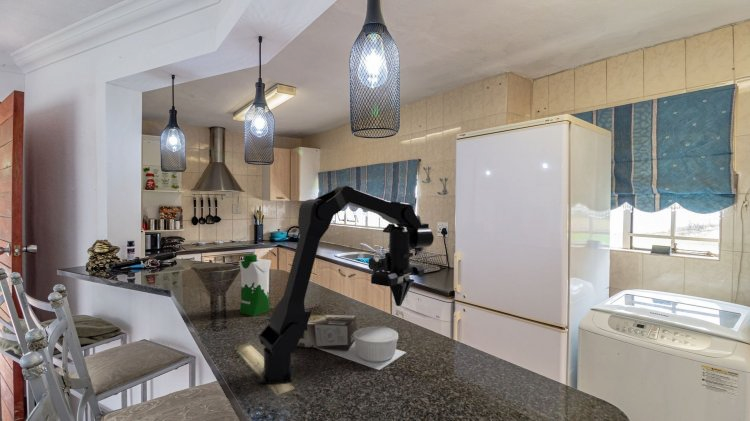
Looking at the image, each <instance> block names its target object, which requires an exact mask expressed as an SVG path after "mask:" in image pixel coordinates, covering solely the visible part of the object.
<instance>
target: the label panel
mask: <svg viewBox="0 0 750 421" xmlns="http://www.w3.org/2000/svg"><path fill="white" fill-rule="evenodd" d="M316 349H318V350H321V351H323V352H326V353H329V354H333V355H335V356H338V357H341V358H344V359H346V360H348V361H352V362H355V363H357V364H360V365H363V366H366V367H369V368H372V369H375V370H378V371H380V370H382V369H384V368H385V367H386V366H388V365H390V364H391V363H393V362H394V361H396V360H398V359H400V358H401V357H402V356H403V355H405V354H407V351H403V350H400V349H397V348H396V351H395V354H394V355H393V357H392V358H390V359H388V360H386V361H380V362H373V361H367V360H364V359H362V358H360V357H359V355H358V354H357V351H356V346H355V341H354V343H353V344H352V345H351V347H350V348H349V350H342V349H327V348H316Z"/></svg>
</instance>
